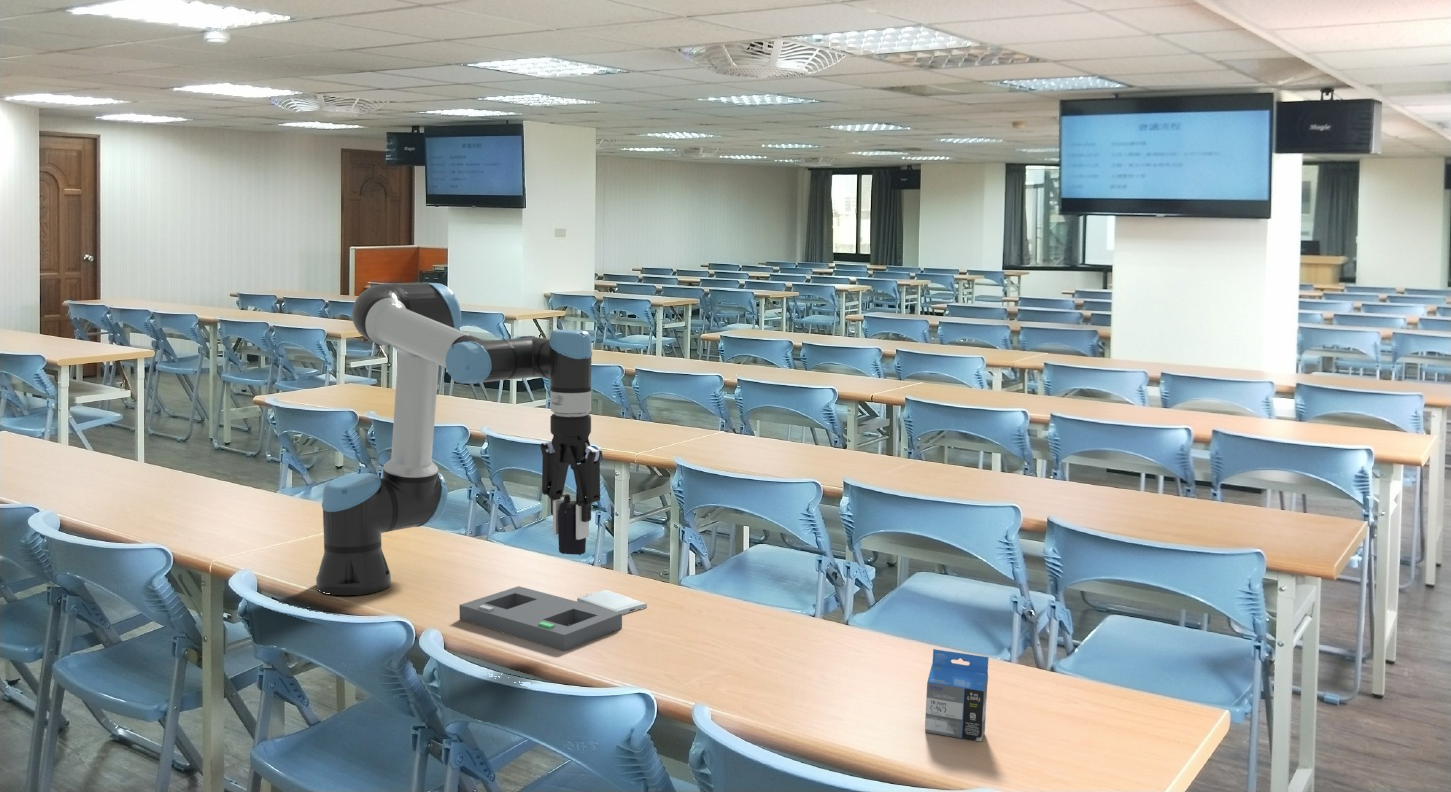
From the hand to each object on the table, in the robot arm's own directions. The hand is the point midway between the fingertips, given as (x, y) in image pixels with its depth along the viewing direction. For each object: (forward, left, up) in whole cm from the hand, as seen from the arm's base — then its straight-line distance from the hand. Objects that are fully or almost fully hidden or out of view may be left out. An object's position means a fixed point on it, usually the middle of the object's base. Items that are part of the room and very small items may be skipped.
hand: (570, 535), depth 226 cm
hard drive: (-5, +18, -20) cm, 27 cm away
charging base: (-8, 0, -19) cm, 21 cm away
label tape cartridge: (+78, +3, -19) cm, 80 cm away
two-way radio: (0, 0, -4) cm, 4 cm away
